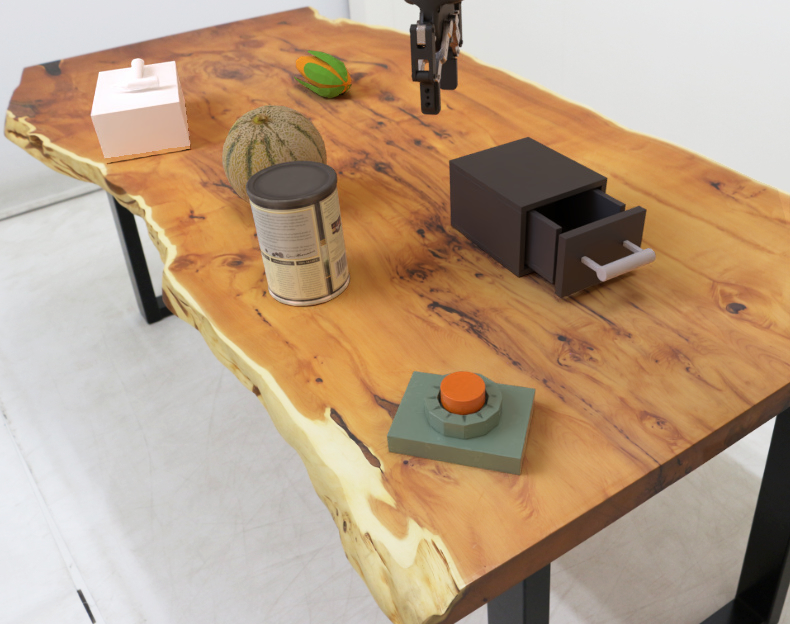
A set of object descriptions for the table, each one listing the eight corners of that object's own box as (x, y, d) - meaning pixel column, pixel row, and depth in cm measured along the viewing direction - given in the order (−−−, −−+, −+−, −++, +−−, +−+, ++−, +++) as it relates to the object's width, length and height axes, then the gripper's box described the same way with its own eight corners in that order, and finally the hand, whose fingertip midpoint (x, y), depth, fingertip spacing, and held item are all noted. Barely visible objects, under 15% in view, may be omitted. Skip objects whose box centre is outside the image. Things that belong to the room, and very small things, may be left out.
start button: (488, 388, 66) (489, 374, 65) (480, 418, 63) (480, 404, 62) (446, 382, 67) (446, 368, 66) (436, 411, 64) (435, 397, 63)
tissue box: (106, 164, 123) (86, 102, 116) (112, 115, 143) (95, 59, 136) (191, 149, 126) (175, 88, 119) (185, 103, 145) (171, 48, 139)
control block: (534, 405, 69) (536, 373, 66) (520, 476, 62) (521, 444, 59) (414, 386, 72) (412, 356, 69) (388, 452, 65) (384, 421, 63)
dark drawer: (664, 284, 81) (675, 225, 77) (586, 317, 78) (593, 256, 73) (559, 218, 95) (563, 164, 91) (488, 244, 91) (489, 189, 87)
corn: (326, 66, 133) (278, 44, 147) (328, 106, 138) (281, 82, 151) (359, 60, 137) (309, 39, 150) (361, 99, 141) (312, 76, 155)
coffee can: (268, 266, 92) (247, 165, 84) (347, 256, 93) (334, 155, 85) (266, 312, 84) (243, 205, 76) (353, 301, 85) (339, 194, 76)
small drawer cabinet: (599, 246, 91) (607, 177, 85) (518, 277, 86) (521, 207, 81) (525, 200, 102) (528, 136, 96) (450, 225, 98) (448, 160, 92)
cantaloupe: (319, 174, 114) (306, 81, 105) (343, 215, 102) (330, 113, 93) (227, 193, 110) (205, 98, 101) (241, 237, 99) (217, 134, 90)
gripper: (453, -35, 70) (457, 124, 79) (482, -61, 81) (483, 82, 90) (380, -34, 72) (393, 121, 81) (418, -59, 83) (425, 80, 92)
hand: (440, 100), depth 86 cm, fingers open, 8 cm apart
